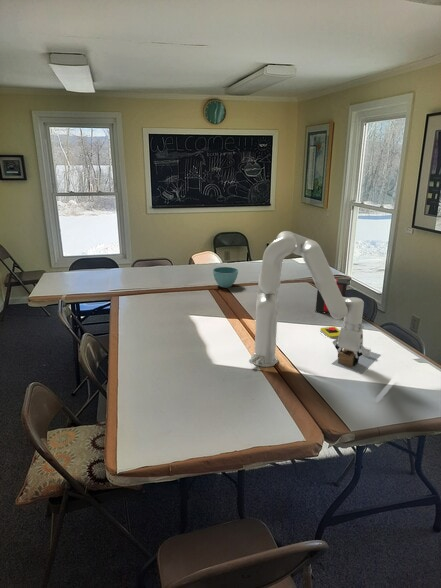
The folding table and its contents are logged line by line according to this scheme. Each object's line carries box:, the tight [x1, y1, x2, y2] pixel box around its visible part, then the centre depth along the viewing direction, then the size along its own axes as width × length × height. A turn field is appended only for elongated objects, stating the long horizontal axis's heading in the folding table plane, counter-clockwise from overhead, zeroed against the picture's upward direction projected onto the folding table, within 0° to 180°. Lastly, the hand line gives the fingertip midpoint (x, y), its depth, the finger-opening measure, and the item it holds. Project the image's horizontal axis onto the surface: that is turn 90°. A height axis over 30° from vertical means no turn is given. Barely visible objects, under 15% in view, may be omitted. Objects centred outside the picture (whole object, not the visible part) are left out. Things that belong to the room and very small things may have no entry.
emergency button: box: [319, 326, 341, 340], centre depth 215 cm, size 9×4×15 cm
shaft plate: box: [331, 346, 382, 375], centre depth 187 cm, size 24×14×6 cm, turn 140°
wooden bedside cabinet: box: [337, 348, 355, 367], centre depth 184 cm, size 6×6×5 cm
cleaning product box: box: [315, 277, 348, 314], centre depth 248 cm, size 16×9×20 cm, turn 71°
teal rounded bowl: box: [212, 266, 239, 289], centre depth 296 cm, size 18×18×12 cm
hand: (347, 361), depth 184 cm, fingers closed on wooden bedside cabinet, 6 cm apart
